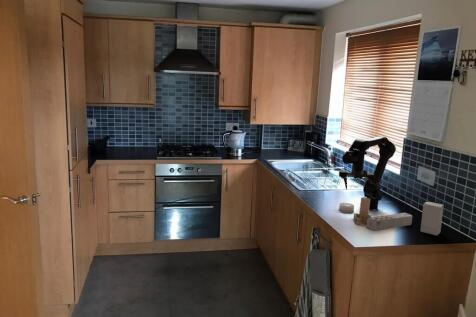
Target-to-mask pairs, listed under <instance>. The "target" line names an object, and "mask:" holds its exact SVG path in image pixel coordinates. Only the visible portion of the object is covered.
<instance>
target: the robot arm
mask: <svg viewBox="0 0 476 317" xmlns="http://www.w3.org/2000/svg"><path fill="white" fill-rule="evenodd" d="M353 140H354V141H353V142H352V143H351V145H350V147H349V148H348V150H345V153H344V154H343V155H342V157H341V159H342V163H344V164H345V165H351V164H352V166H351V172H348V171H347V170H342V169H341V170H340V169H339V171H338V176H339V178H341V180H342V179H343V182H344V186H345V190H348V177H352V178H354V179H355V180H357V179H358V180H363V179H364V183H363V188H362V189H363V190H362V191H363V195H364V196H363V197H366V198H370V206H369V211H379V202H380V201H381V200H382V199H383V195H382V193H381V189H382V188H381V180H382V178H383V176H384V174H385V170H386V167H387V165H388V161H389V160H390V159H392V158H393V157H394V154H395V153H396V151H397V147H396V146H395V144H394V142H392V141H391V140H390V139H388V137H386V136H382V135H378V136H376V137H375V136H374V137H371V138H367V139H362V138H355V139H353ZM376 146H377V147H378V153H379V154H378V155H379V158H378V160H377V164H376V166H375V169H374V171H373V172H368V170H367V169H364V165H365V155H368V153H367V150H369V149H370V148H372V147H376Z"/></svg>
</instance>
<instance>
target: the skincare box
mask: <svg viewBox="0 0 476 317" xmlns="http://www.w3.org/2000/svg"><path fill="white" fill-rule="evenodd" d="M421 213H422V214H421V222H420V232H422V233H426V234H429V235H433V236H439V234H440V233H441V229H442V223H443V222H442V221H443V213H444V204H441V203H438V202H437V203H435V202H430V201H426V202H424V203H423V204H422V212H421Z"/></svg>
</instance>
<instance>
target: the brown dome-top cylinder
mask: <svg viewBox="0 0 476 317" xmlns="http://www.w3.org/2000/svg"><path fill="white" fill-rule="evenodd" d="M369 206H370V198H367V197H364V196H363V197H361V198H360V206H359V211H358V212H359V213H358V214H359V218H360V219H368V215H370V214H369V213H370V210H369Z"/></svg>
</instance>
